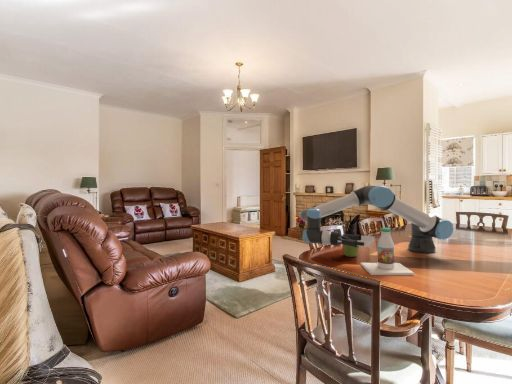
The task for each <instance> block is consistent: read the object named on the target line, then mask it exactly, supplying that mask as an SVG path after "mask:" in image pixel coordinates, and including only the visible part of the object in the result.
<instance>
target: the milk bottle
mask: <svg viewBox="0 0 512 384" xmlns="http://www.w3.org/2000/svg"><path fill="white" fill-rule="evenodd" d="M391 231H392V229H391V228H390V227H381V228H380V237H379V238H378V241H377V245H376V247H377V250H376V251H377V253H376V254H377V256H376V257H377V258H376V260H377V262H376V263H377V266H378V267H379V268H382V269H393V268H394V263H395V245H394V240H393V239H392V238H393V237H392V236H391Z"/></svg>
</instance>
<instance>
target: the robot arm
mask: <svg viewBox="0 0 512 384" xmlns="http://www.w3.org/2000/svg"><path fill="white" fill-rule="evenodd" d="M364 205H365V206H366V205H369V206H373V207H374V208H375V207H376V208H377V209H379V210H382V211H384V212H387V211H389V212H391V213H393V214H394V215H396V216H398V217H401V218H402V219H403V220H406V221H407V222H409V223H411V225H410V227H411V229H410V230H411V233H410V235H411V236H410V240H409V242H408V245H407V249H408V250H409V251H412V252H416V253H421V254H422V253H424V254H431V253H433V254H434V253H436V245H435V243H434V238H435V239H438V240H442V241H443V240H447V239H450V238H451V237H452V235H453V234H454V225H453V223H452V222H451V220H448V219H447V218H445V219H444V218H441V217H439V216H437V215H435V214H434V213H428V214H427V213H426V212H424V211H422V210H420V209H418V208H417V207H414V206H413V205H411V204H410V203H407V202H405V201H404V200H402V199H400V198H398V197H397V196H396V193H394V192H393V191H392V190H391V188H389V187H388V186H384V185H365V186H362V187H360V188H358V189H355V190H353V191H351V192H350V193H349V194H347V195H344V196H341V197H338V198H335V199H333V200H330V201H326V202H325V203H321V204H319V205H316V206H313V207H311V208H308V209H302V210H301V211H300V214H299V217H300V219H301V221H302V222H304V223H306V229H303V231H302V240H303V242H304V243H310V244H316V245H317V244H318V245H325V246H327V245H331V246H339V245H343V244H344V245H348V246H353V247H357V246H359V247H363V248H364V247H365V248H372V243H373V242H374V243H375V236H370V235H362V234H361V233H359V234H342V235H340V232H339V231H335V230H334V231H333V230H332V231H331V230H322V229H321V226H322V225H321V222H322V221H321V220H322V218H324V217H327V216H330V215H333V214H335V213H338V212H340V211H343V210H346V209H349V208H352V207H359V206H364ZM355 240H357V241H355Z"/></svg>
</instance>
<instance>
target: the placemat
mask: <svg viewBox="0 0 512 384" xmlns="http://www.w3.org/2000/svg"><path fill="white" fill-rule="evenodd" d="M360 266H361V267H362V268H363V269H364V270H365V271H366V272H367V273H369V275H371V276H415V272H413V271H412V270H410V269H409V268H408V267H406V266H404V265H403V264H401V263H400V262H394V268H393V269H382V268H379V267H378V266H377V262H360Z"/></svg>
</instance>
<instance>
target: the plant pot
mask: <svg viewBox="0 0 512 384" xmlns="http://www.w3.org/2000/svg"><path fill="white" fill-rule="evenodd" d="M355 241H357V240H355ZM342 247H343V253H344V256H346V257H349V258H352V257H357V256H358V254H359V253H358V252H359V247H360V246H357V247H353V246H348V245H344V244H342Z"/></svg>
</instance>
